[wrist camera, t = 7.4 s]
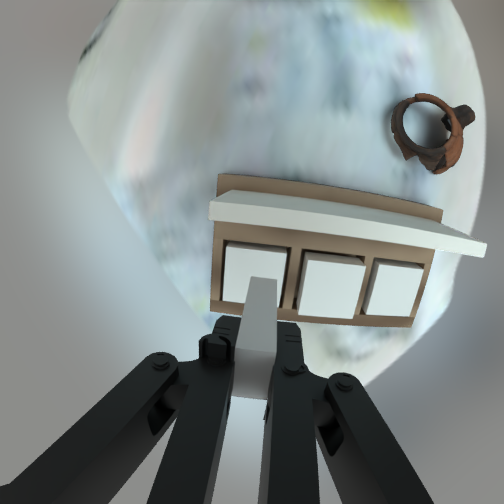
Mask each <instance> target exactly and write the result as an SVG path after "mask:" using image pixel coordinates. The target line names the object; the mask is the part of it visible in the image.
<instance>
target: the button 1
mask: <svg viewBox="0 0 504 504" xmlns="http://www.w3.org/2000/svg"><path fill="white" fill-rule="evenodd" d="M286 256H287V252H286V246H278V245H269V244H260V243H251V242H243V241H234V240H230V241H229V243H228V245H227V246H226V258H225V272H224V288H223V301H230V302H237V303H245V301H246V296H247V292H248V287H249V282H250V278H251V276H253V277H262V278H271V279H277V307H279V302H280V296H281V290H282V283H283V276H284V270H285V263H286Z"/></svg>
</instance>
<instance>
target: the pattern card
mask: <svg viewBox="0 0 504 504" xmlns="http://www.w3.org/2000/svg"><path fill="white" fill-rule="evenodd" d="M208 220H214V221H224V222H234V223H243V224H252V225H261V226H270V227H279V228H287V229H295V230H304V231H312V232H319V233H327V234H335V235H342V236H350V237H357V238H364V239H371V240H378V241H385V242H391V243H398V244H405V245H411V246H417V247H424V248H430V249H436V250H442V251H448V252H454V253H460V254H465V255H472V256H477V257H482V258H484V255H485V251H486V247H487V244H486V243H484V242H482V241H480V240H478V239H476V238H473V237H471V236H469V235H467V234H464V233H462V232H460V231H457V230H455V229H453V228H450V227H448V226H446V225H443V224H441V223H438V222H436V221H433V220H430V219H425V218H421V217H416V216H411V215H406V214H401V213H396V212H391V211H385V210H380V209H374V208H369V207H363V206H357V205H351V204H344V203H338V202H332V201H325V200H318V199H311V198H303V197H295V196H288V195H279V194H271V193H262V192H252V191H242V190H230V191H228V192H226V193H224V194H222V195H220V196H218V197H216V198H214V199H213V200H211V201H209V213H208Z"/></svg>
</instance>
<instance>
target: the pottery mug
mask: <svg viewBox="0 0 504 504" xmlns="http://www.w3.org/2000/svg"><path fill="white" fill-rule="evenodd" d="M414 102H430V103H433V104H435V105H437V106H438V107H440V108H441V109H442V110H443V111H444V112H445V113H446V114H445V115H444V117H443V118H442V122H443V123H444V125H445V127H446V129H447V130H448V131H450V132H451V135H450V137H449V139H447V140H446V141H447V142H446V143H445V144H443V145H442V146H441V147H438V148H433V149H430V148H424V147H421V146H419V145H417V144H415V143H414V142H413V141H412V140H411V139H410V138H409V137H408V135H407V134H406V132H405V130H404V127H403V115H404V113H405V111H406V109H407V108H408V107H409V105H410V104H412V103H414ZM474 120H475V113H474V111H473V110H472V109H471V108H470V107H469V106H467V105H460V106H458V107H455V108H452V107H449V106H448V105H447V104H446V103H445V102H444V101H442V100H441V99H439V98H438V97H436V96H434V95H430V94H426V93H419V94H415V97H412V98H407V99H405V100H403V101H401V102H400V103H399V105H398V106H396V107H395V109H394V111H393V115H392V119H391V131H392V133H394V139H395V141H396V143H397V144H398V146H399V147H400V149H401V151H402V153H403V156H404V158H405V160H408V159H409V158H411V157H413V156H415V155H418V157H419V160H420V162H421V163H422V164H423V165H424V166H425V167H426V169H427V170H435V167H436V165H437V164H438V163H439V161H440V159H441V158H442V157H443V155H445V159H446V162H445V164H444V165H443V166H442V167H440V168H439V169H437V170H435V171H433V174H441V173H443V172H445V171H447V170H448V169H449V168H450V167H453V166H454V165H455V164H456V162H457V161H458V160H459V158H460V155H461V152H462V148H463V137H462V136H463V129H464V128H465V126H467V125H469V124H470V123H472V122H473V121H474Z"/></svg>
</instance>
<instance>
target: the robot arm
mask: <svg viewBox="0 0 504 504" xmlns="http://www.w3.org/2000/svg"><path fill="white" fill-rule="evenodd" d="M231 396H237V397H244V398H253V399H263V400H267V406H266V410H265V415H264V419H263V420H265V425H264V439H263V450H262V462H261V463H262V464H261V474H260V485H259V496H258V504H320V497H319V480H318V463H317V449H316V439H317V441H318V444H319V446H320V449H321V451H322V454H323V456H324V459H325V461H326V464H327V466H328V469H329V471H330V474H331V476H332V479H333V481H334V484H335V486H336V489H337V491H338V494H339V496H340V499H341V501H342V504H434V503H433V501H432V499H431V497H430V496H429V494H428V492H427V490H426V489H425V487H424V485H423V484H422V482H421V480H420V479H419V477H418V475H417V473H416V472H415V470H414V469H413V467H412V465H411V463H410V462H409V460H408V458H407V457H406V455H405V453H404V452H403V450H402V449H401V447H400V445H399V444H398V442H397V441H396V439H395V437H394V435H393V434H392V432H391V431H390V429H389V427H388V426H387V424H386V423H385V421H384V419H383V418H382V416H381V414H380V413H379V411H378V410H377V408H376V407H375V405H374V403H373V402H372V400H371V399H370V397H369V395H368V394H367V392H366V391H365V389H364V387H363V386H362V384H361V383H360V381H359V380H358V379H357V378H356V377H355V376H353V375H351V374H348V373H335V374H333V375H331V376H330V377H329V379H327V378H323V377H320V376H317V375H315V374H313V373H311V372H310V371H309V369H308V367H307V366H306V365H305V364H304V356H303V347H302V338H301V330H300V328H299V327H298V326H297V324H296V323H290V322H280V321H277V279H271V278H262V277H253V276H251V278H250V282H249V287H248V292H247V296H246V301H245V305H244V310H243V314H242V318H240V317H232V316H225V315H223V316H221V317H220V318H219V319H218V320H217V321H216V323H215V326H214V329H213V332H212V334H208V335H205V336H203V337H202V338H201V339H200V340H199V358H198V359H196V360H193V361H186V362H178V361H177V359H176V358H175V356H173V355H171V354H169V353H166V352H156V353H152V354H150V355H149V356H147V357H146V358H145V359H144V360H143V361H142V362H141V363H139V364H138V365H137V366H136V367H135V368H134V369H133V370H132V371H131V372H130V373H129V374H128V375H127V376H126V377H125V378H123V379H122V380H121V381H120V382H119V383H118V384H117V385H116V386H115V387H114V388H113V389H112V390H111V391H110V392H108V393H107V394H106V395H105V396H104V397H103V398H102V399H101V400H100V401H99V402H98V403H97V404H96V405H94V406H93V407H92V408H91V409H90V410H89V411H88V412H87V413H86V414H85V415H84V416H83V417H81V418H80V419H79V420H78V421H77V422H76V423H75V424H74V425H73V426H72V427H71V428H70V429H69V430H67V431H66V432H65V433H64V434H63V435H62V436H61V437H60V438H59V439H58V440H57V441H56V442H54V443H53V444H52V445H51V446H50V447H49V448H48V449H47V450H46V451H45V452H44V453H43V454H42V455H40V456H39V457H38V458H37V459H36V460H35V461H34V462H33V463H32V464H31V465H30V466H28V467H27V468H26V469H25V470H24V471H23V472H22V473H21V474H20V475H19V476H18V477H16V478H15V479H14V480H13V481H12V482H11V483H10V484H6V485H3V486H0V504H108V503H109V502H110V501H111V500H112V498H113V497H114V496H115V495H116V494H117V492H118V491H119V490H120V489H121V488H122V486H123V485H124V484H125V483H126V481H127V480H128V479H129V478H130V477H131V475H132V474H133V473H134V472H135V470H136V469H137V468H138V467H139V465H140V464H141V463H142V462H143V460H144V459H145V458H146V457H147V455H148V454H149V453H150V451H151V450H152V449H153V447H154V446H155V445H156V444H157V442H158V441H159V440H160V438H161V437H162V436H163V435H164V433H165V432H166V430H167V429H168V428H169V427H170V425H171V424H172V423H173V421H174V420H175V419H176V418H177V419H176V422H175V424H174V427H173V430H172V433H171V435H170V439H169V441H168V444H167V447H166V449H165V452H164V455H163V458H162V461H161V464H160V466H159V469H158V472H157V475H156V478H155V480H154V483H153V486H152V489H151V492H150V495H149V498H148V501H147V504H211V501H212V497H213V491H214V486H215V481H216V476H217V471H218V466H219V461H220V456H221V451H222V445H223V441H224V436H225V430H226V425H227V419H228V415H229V409H230V403H231V402H230V401H231ZM267 397H268V399H267Z"/></svg>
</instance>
